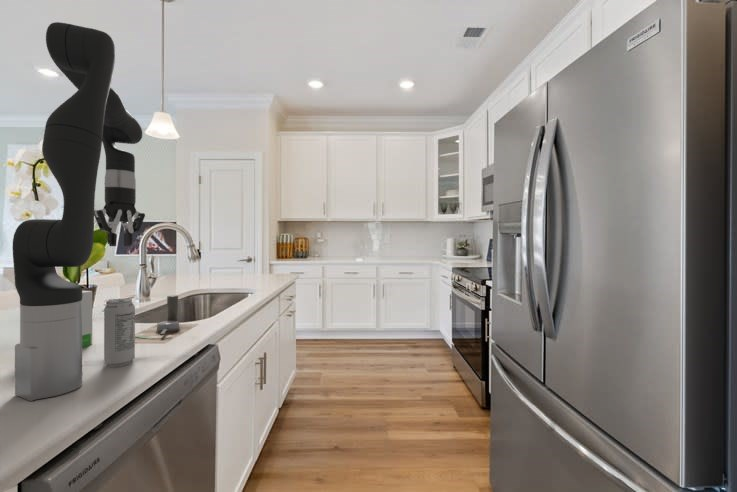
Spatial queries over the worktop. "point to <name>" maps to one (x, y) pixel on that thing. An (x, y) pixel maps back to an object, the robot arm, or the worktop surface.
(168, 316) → the tuning peg
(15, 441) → the worktop surface
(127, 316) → the energy drink can
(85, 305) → the skincare box
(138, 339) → the tuner board
